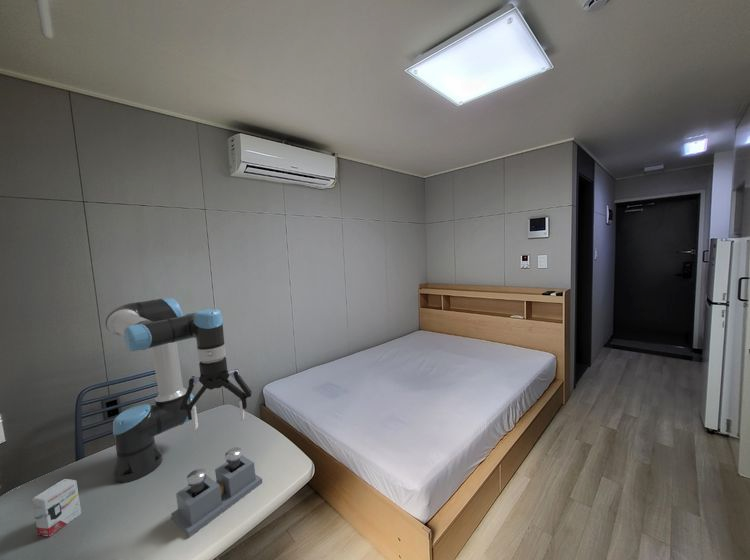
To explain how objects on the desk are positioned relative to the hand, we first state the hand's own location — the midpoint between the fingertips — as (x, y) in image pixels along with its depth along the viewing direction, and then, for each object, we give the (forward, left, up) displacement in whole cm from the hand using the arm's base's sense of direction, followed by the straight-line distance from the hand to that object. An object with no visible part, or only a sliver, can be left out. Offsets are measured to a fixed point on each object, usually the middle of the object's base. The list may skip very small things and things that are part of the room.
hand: (219, 423), depth 96 cm
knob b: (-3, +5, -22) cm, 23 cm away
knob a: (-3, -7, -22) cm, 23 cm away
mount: (-3, -1, -27) cm, 27 cm away
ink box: (-38, -33, -27) cm, 58 cm away
